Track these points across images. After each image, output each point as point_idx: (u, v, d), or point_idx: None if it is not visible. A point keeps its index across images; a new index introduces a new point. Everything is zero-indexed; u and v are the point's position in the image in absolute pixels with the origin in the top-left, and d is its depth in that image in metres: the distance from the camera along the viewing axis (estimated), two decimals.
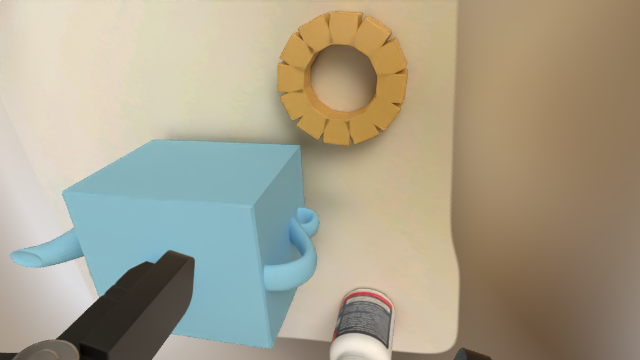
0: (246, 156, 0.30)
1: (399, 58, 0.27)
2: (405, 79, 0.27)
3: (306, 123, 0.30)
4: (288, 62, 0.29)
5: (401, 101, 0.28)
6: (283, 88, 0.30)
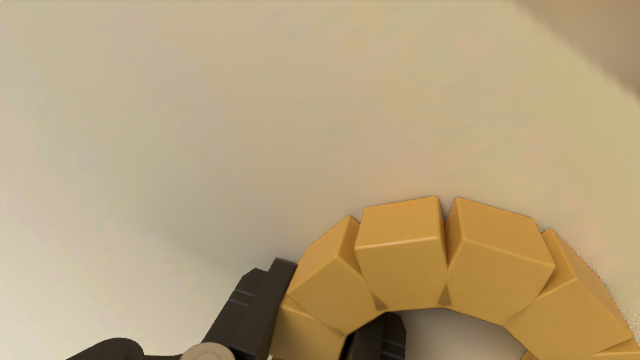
0: None
1: (516, 261, 0.08)
2: (583, 288, 0.08)
3: None
4: None
5: (624, 336, 0.09)
6: None
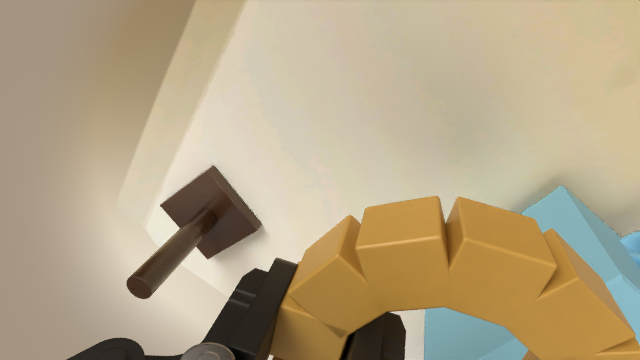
0: None
1: (518, 261, 0.08)
2: (584, 288, 0.08)
3: None
4: None
5: (626, 335, 0.09)
6: None
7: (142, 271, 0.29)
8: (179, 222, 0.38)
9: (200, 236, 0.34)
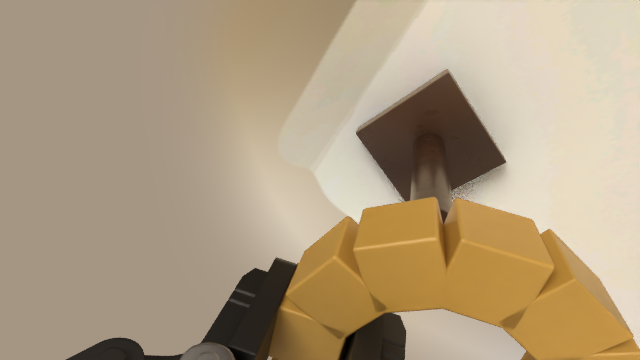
0: None
1: (515, 262, 0.08)
2: (582, 289, 0.08)
3: None
4: None
5: (624, 336, 0.09)
6: None
7: None
8: (381, 156, 0.27)
9: None
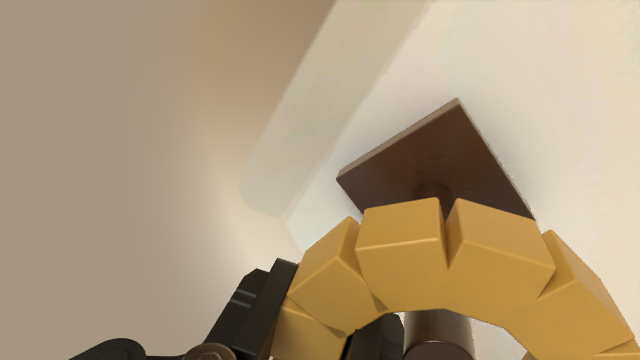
0: None
1: (517, 263, 0.08)
2: (583, 289, 0.08)
3: None
4: None
5: (625, 337, 0.09)
6: None
7: (444, 324, 0.11)
8: None
9: None
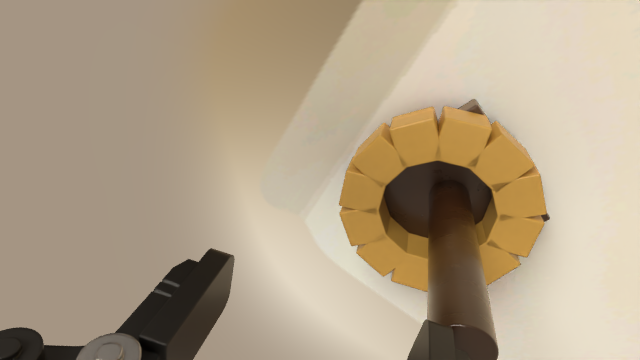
0: None
1: (472, 127, 0.17)
2: (506, 139, 0.17)
3: None
4: (363, 242, 0.21)
5: (529, 165, 0.17)
6: (385, 269, 0.21)
7: (468, 310, 0.12)
8: (387, 206, 0.22)
9: None
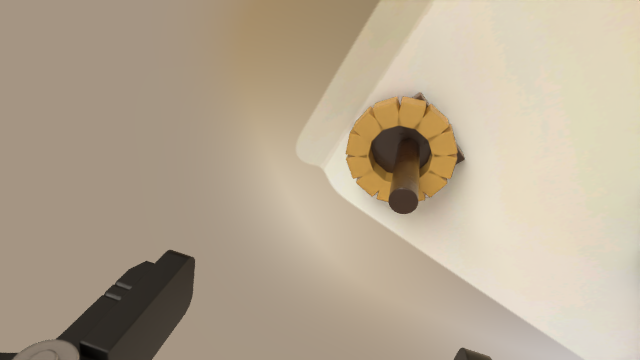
0: None
1: (416, 107, 0.32)
2: (433, 113, 0.32)
3: None
4: (360, 175, 0.36)
5: (446, 126, 0.32)
6: (373, 191, 0.36)
7: (405, 184, 0.27)
8: (374, 156, 0.37)
9: (419, 162, 0.33)
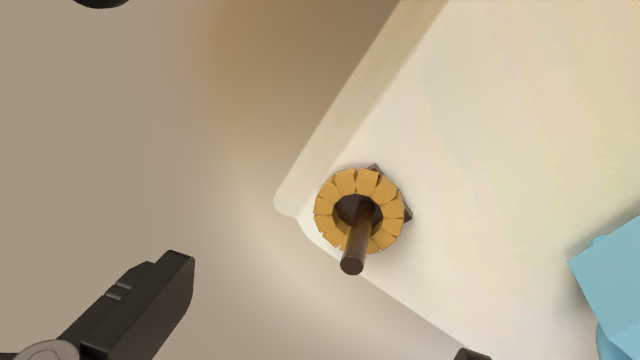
0: None
1: (369, 180, 0.39)
2: (383, 185, 0.39)
3: None
4: (325, 230, 0.43)
5: (393, 195, 0.39)
6: (336, 243, 0.43)
7: (353, 252, 0.34)
8: (338, 213, 0.44)
9: (372, 224, 0.40)
